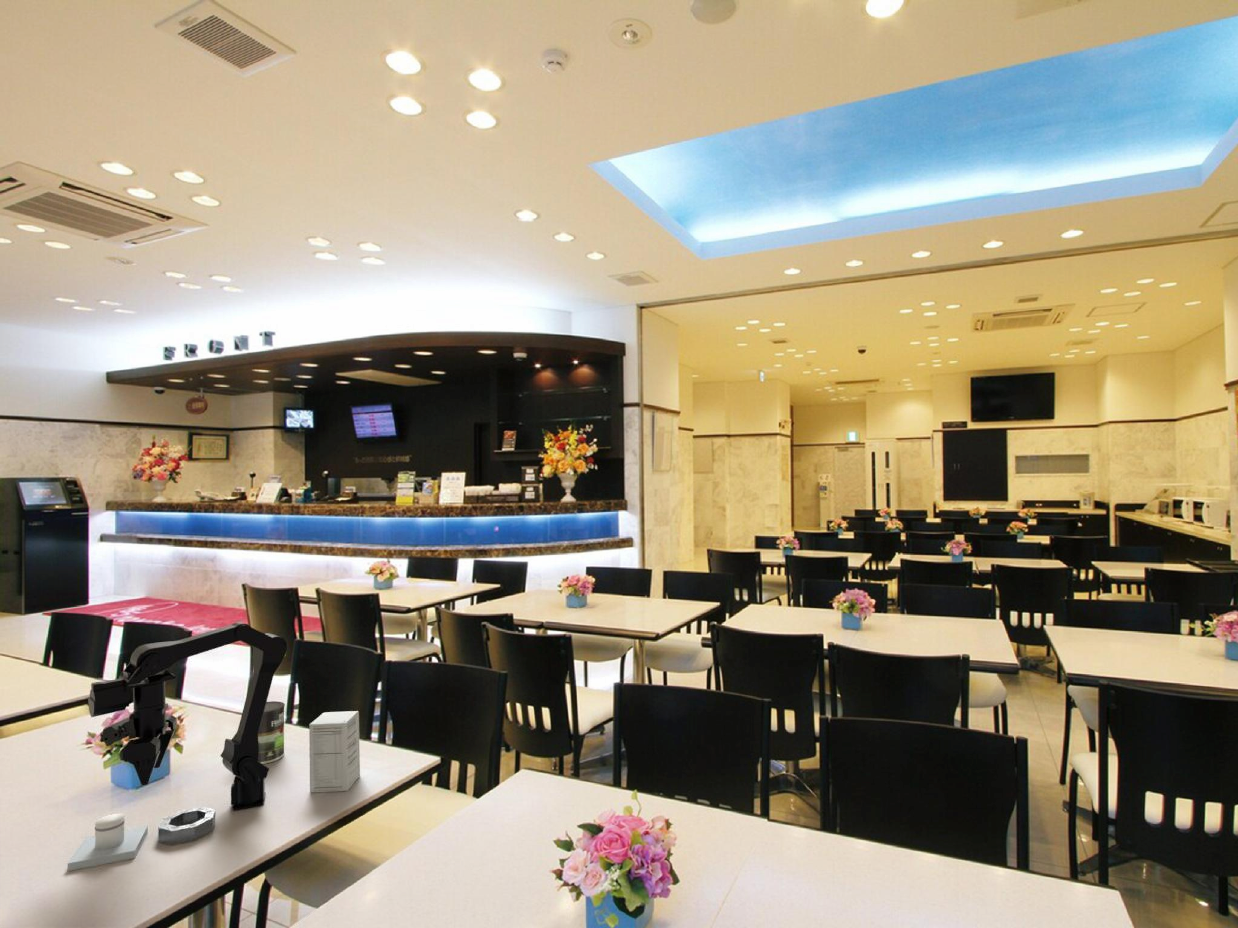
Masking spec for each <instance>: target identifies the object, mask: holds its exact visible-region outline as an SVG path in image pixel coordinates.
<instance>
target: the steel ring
mask: <svg viewBox="0 0 1238 928" xmlns="http://www.w3.org/2000/svg"><path fill="white" fill-rule="evenodd" d="M215 826H216V809H215V808H210V807H207V806H206V807H205V806H199V807H198V806H197V807H193V808H188V809H187V808H186V809H182V810H179V811H177V812H174V813H173V814H172V813H171V814H170V815H167V816H166V817H164V818H162V819H161V821H160V823H159V825H158V831H157V833H158V836H157V837H158V838H157V839H158V841H157V842H158V843H159V844H164V845H169V846H176V845H181V844H187V843H191V842H196V841H197V840H199V839H201V838H203V837H205V836H207V835H209V834H211V833H213V831H214V828H215Z"/></svg>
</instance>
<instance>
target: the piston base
mask: <svg viewBox="0 0 1238 928" xmlns="http://www.w3.org/2000/svg"><path fill="white" fill-rule="evenodd" d="M94 823H95V824H94V825H95V826H94V835H91V836H86V837H85V838H84V839H83V841H82V842H81V843H80V845H79V846H78V848H77V849H76V851H75V852H74V853H73V855H72V857H71V858H70V860H69V861H68V863H67V872H71V871H76V870H81V869H86V868H91V867H97V866H101V865H106V864H110V863H117V862H121V861H122V862H123V861H127V860H132V859H135V858H136V856H137V854H138V853H139V851H140V849H141V847H142V845H143V843H144V841H145V839H146V837H147V835H148V834H149V833H148V832H149V831H148V827H149V826H148V825H146V826H140V827H135V828H129V829H125V815H124V814H123V813H113V814H109V815H106V816H103V817H100V818H99V819H97V820H96V821H95V822H94Z"/></svg>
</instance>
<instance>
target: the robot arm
mask: <svg viewBox="0 0 1238 928" xmlns="http://www.w3.org/2000/svg"><path fill="white" fill-rule="evenodd" d="M236 642H237V643H238V642H242V643H243V644H246V645H247V646H249V647H252V657H251V659H252V667H253V668H252V669H253V672H252V675H251V680H250V684H249V687H248V691H247V694H246V698H245V701H244V704H243V705H244V706H243V709H242V713H241V717H240V720H239V723H238V728H237V730H236V732H235V734H234V736H233V737H232V738H230V739H229V738H225V740H224V745H223V746H224V747H223V751H222V752H221V754H220V755H219V756H220V758H222V764H223V766H224V768H225V769H227V770H228V771H229V772H231V773H232V775H234V779H233V783H232V784H231V786H230V805H231V806H232V811H237V810H241V809H243V810H244V809H248V808H253V807H254V808H255V807H260V806H264V804H265V799H266V791H265V789H266V788H265V786H266V785H265V783H266V782H265V780H266V778H267V776H268V773H269V772H270V768H269V767H267V766H266V765H265V764H262V763H260V762H259V761H258V759H259V741H258V732H259V729H260V725H261V721H262V717H263V713H264V710H265V706H266V702H268V697H269V695H270V691H271V687H272V682H273V678H274V675H275V674H276V672H277V671H278V670H279V668H280V666H281V665H282V663H283V661H284V659H285V656H286V655H287V652H288V648H289V643H288V642H287V641H286V639H285V638H284V637H282V636H278V635H276V634H274V633H273V634H272V633H271V632H270V633H264V632H262V631H259V630H258V629H256V628H254V627H251V626H250V625H249V624H248V623H245V622H242V621H237V622H233V623H232V624H229V625H226V626H223V627H219V628H215V629H213V630H209V631H205V632H203V633H200V634H195V635H193V636H190V637H186V638H182V639H179V640H173V641H171V640H170V641H162V642H161V641H160V642H153V643H144V644H142V645H139V646H137V647H136V648H135V650H133V652H132V654H131V656H130V658H129V659H130V660H129V663H128V664H127V665H126V667H125V668H124V669H123V671H122V672H121V673H120V674H119V677H118V678H115V679H112V680H111V679H110V680H106V681H96V682H91V684H90V686H91V687H90V691H89V697H88V699H87V700H88V701H87V702H88V710H89V715H90V717H91V718H95V717H100V716H105V715H108V714H112V713H117V712H122V711H125V710H126V709H127V708H128V707H130V704H132V701H133V711H132V712H131V713H130V714H129V716H128V717H126V718H124V719H122V720H120V721H117V722H115V723H112V724H110V725H109V726H105V727H104V728H103V729H102V731H101V732H100V734H99V736H100V739H99V742H100V743H104V744H105V746H106V747H110V746H111V745H114V743H117V742H119V741H121V740H123V739H125V738H127V737H128V740H129V741H127V742H126V744H125V745H124V746H123V747H122V748H121V749H120V751H119V752H120V754H119V758H120V759H119V760H120V761H123V762H125V763H129V764H131V765H133V767H134V769H135V772H136V775H137V777H138V780H139V783H140V784H141V786H147V785H149V782H150V780H151V777H152V774H153V772H154V769H158V768H160V767H161V764H162V762H163V760H164V758H165V755H166V753H167V750H168V747H169V746H170V743H171V740H172V738H173V736H174V734H175V732H176V728H177V727H178V718H177V717H176V716H174V715H173V714H169V715H167V713H166V711H167V710H168V709H169V703H166V682H167V681H169V682H170V681H173V680H176V679H177V676H176V675H175V674H173V673H171V672H170V670H169V668H172V667H173V666H175V665H176V664H178V663H179V662H181V661H183V660H185V659H187V658H190V657H194V656H196V655H200V654H202V653H206V652H209V651H213V650H215V649H219V648H221V647H225V646H227V645H231V644H234V643H236ZM132 691H133V692H132ZM169 728H170V729H169Z"/></svg>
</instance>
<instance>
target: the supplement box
mask: <svg viewBox="0 0 1238 928" xmlns="http://www.w3.org/2000/svg"><path fill="white" fill-rule="evenodd" d="M308 727H309V728H308V729H309V731H308V732H309V739H308V740H309V748H308V749H309V793H329V792H330V793H331V792H334V793H335V792H348V791H349V790H350V789H351V787H352V786H353V784H354V783H355V782H356V781H357V780H358V779H359V778H360V776H361V765H360V764H361V761H360V757H361V756H360V755H361V753H360V750H361V749H360V712H359V711H358V710H356V711H355V710H354V711H353V710H349V711H329V712H328V711H326V712H322V713H321V714H320V715H319V716H318V717H317V718H315V719H314V720H313V721H312V722H310V723H309V726H308Z"/></svg>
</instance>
